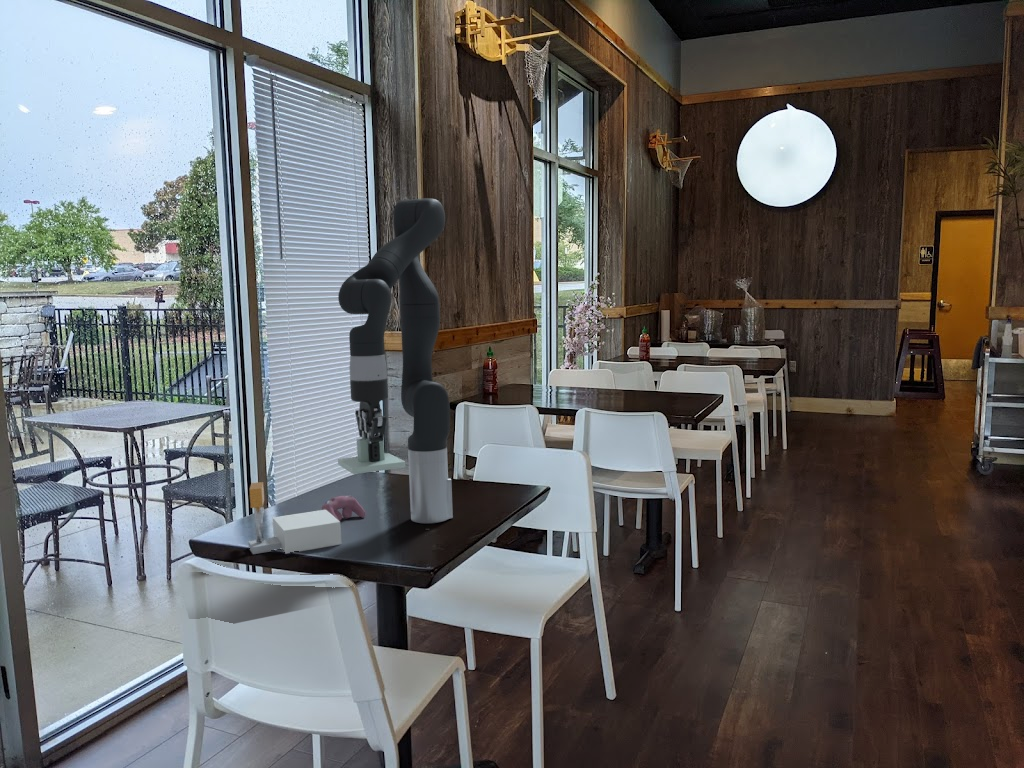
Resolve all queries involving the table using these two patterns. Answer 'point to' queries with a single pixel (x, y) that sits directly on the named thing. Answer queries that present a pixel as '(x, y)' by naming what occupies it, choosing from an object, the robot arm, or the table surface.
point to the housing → (301, 533)
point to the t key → (258, 508)
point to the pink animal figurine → (344, 507)
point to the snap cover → (364, 465)
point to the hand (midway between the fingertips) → (372, 459)
